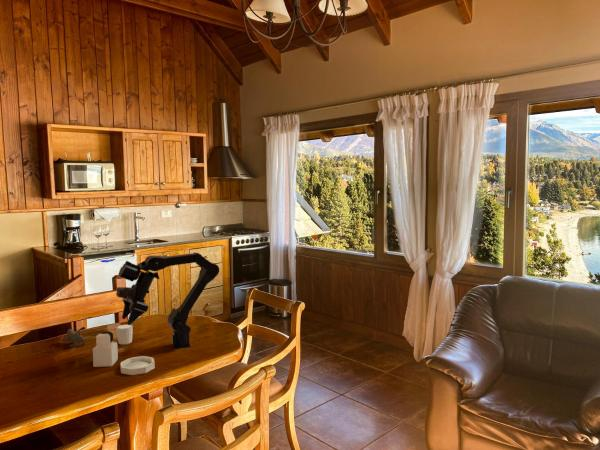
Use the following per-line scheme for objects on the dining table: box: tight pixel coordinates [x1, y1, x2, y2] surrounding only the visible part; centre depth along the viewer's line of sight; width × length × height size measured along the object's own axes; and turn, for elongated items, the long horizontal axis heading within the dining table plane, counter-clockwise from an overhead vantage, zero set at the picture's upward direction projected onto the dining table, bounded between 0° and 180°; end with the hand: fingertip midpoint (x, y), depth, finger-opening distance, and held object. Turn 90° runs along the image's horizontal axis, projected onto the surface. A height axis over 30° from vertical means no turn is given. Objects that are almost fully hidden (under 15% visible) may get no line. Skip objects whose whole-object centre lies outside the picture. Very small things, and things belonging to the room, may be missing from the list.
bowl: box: [120, 355, 156, 376], centre depth 173 cm, size 12×12×2 cm
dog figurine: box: [61, 328, 86, 348], centre depth 198 cm, size 12×6×7 cm, turn 54°
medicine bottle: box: [92, 331, 119, 368], centre depth 177 cm, size 7×7×12 cm
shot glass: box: [115, 323, 134, 345], centre depth 200 cm, size 7×7×7 cm
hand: (125, 321), depth 183 cm, fingers open, 9 cm apart
